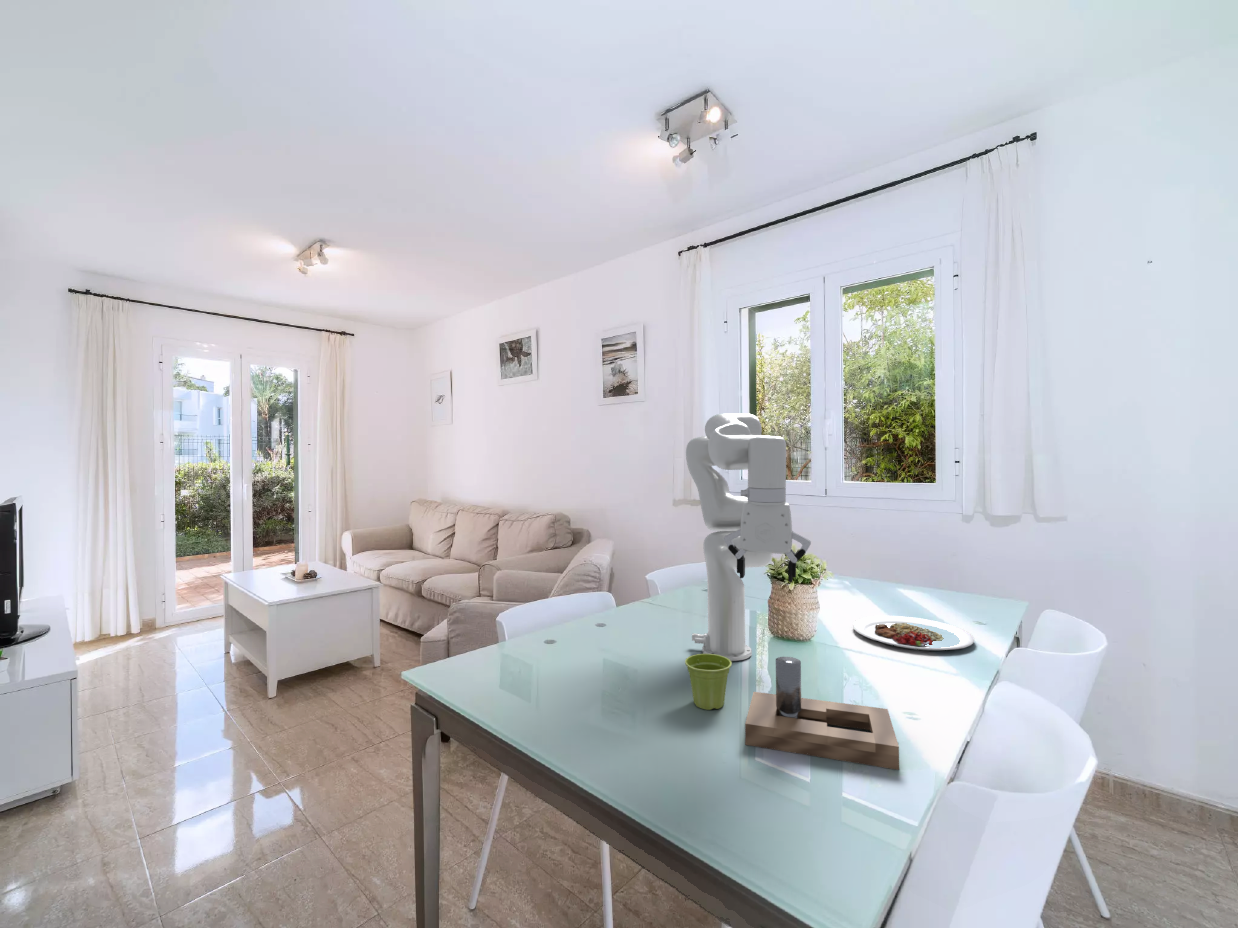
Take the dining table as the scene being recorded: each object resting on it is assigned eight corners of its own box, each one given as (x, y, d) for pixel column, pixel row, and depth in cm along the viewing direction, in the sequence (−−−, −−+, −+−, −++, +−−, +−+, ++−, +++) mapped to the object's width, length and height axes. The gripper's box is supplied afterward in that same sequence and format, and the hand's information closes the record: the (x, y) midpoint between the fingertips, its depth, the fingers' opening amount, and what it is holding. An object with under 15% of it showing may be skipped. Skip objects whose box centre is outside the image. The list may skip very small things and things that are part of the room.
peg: (771, 736, 96) (771, 664, 96) (774, 722, 101) (773, 653, 101) (805, 742, 94) (804, 668, 94) (805, 727, 99) (804, 657, 99)
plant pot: (722, 718, 103) (721, 673, 103) (677, 707, 108) (677, 664, 108) (738, 700, 111) (738, 658, 111) (696, 690, 116) (696, 650, 116)
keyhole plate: (745, 744, 93) (745, 723, 94) (753, 710, 107) (753, 691, 107) (899, 769, 85) (898, 746, 85) (887, 728, 98) (887, 708, 98)
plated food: (929, 620, 167) (929, 609, 167) (1002, 654, 137) (1002, 640, 137) (835, 622, 166) (834, 611, 166) (887, 657, 136) (887, 643, 136)
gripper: (721, 496, 109) (721, 579, 110) (811, 499, 104) (810, 587, 104) (726, 493, 116) (726, 571, 117) (811, 495, 111) (810, 577, 111)
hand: (766, 578), depth 111 cm, fingers open, 9 cm apart
